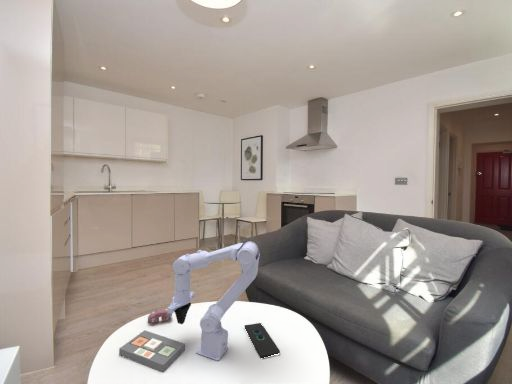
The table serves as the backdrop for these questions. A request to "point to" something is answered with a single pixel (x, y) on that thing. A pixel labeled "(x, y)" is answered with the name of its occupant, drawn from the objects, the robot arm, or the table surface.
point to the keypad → (151, 357)
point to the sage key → (166, 351)
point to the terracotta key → (140, 341)
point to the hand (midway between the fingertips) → (180, 322)
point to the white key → (153, 345)
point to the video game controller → (159, 315)
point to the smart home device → (261, 340)
